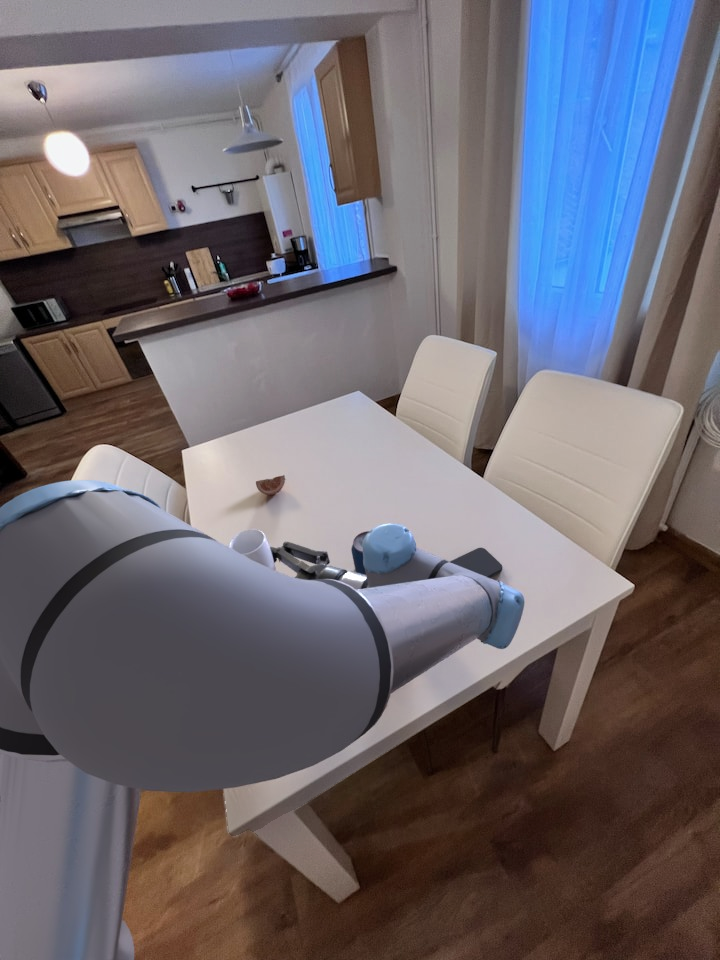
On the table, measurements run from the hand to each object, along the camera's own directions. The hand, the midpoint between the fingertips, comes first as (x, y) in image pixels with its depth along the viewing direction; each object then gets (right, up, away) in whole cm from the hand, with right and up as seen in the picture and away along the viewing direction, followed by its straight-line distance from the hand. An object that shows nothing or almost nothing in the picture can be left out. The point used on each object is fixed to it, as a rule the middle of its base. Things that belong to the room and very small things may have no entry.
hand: (236, 562), depth 77 cm
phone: (+46, -4, +7) cm, 46 cm away
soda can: (+27, -6, +8) cm, 29 cm away
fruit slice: (-1, +12, +40) cm, 42 cm away
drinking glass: (+6, -7, +3) cm, 10 cm away
